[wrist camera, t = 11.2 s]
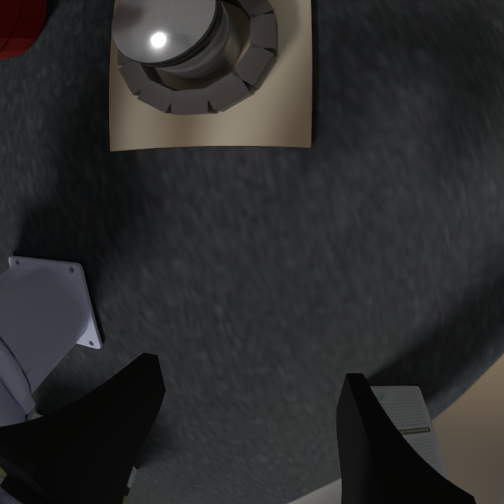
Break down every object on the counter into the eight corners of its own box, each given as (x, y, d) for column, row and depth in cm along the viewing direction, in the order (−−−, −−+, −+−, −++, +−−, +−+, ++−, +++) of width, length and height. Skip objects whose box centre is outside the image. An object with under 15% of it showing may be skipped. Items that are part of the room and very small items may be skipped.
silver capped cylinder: (165, 86, 16) (109, 73, 10) (165, 18, 14) (114, -16, 9) (243, 78, 15) (216, 54, 10) (242, 7, 13) (216, -41, 8)
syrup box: (356, 384, 22) (371, 558, 9) (421, 383, 22) (463, 537, 8) (340, 426, 25) (343, 572, 11) (400, 424, 24) (421, 560, 10)
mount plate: (115, 150, 18) (92, 155, 16) (121, -15, 14) (101, -27, 11) (310, 147, 17) (312, 149, 14) (308, -38, 12) (309, -58, 10)
